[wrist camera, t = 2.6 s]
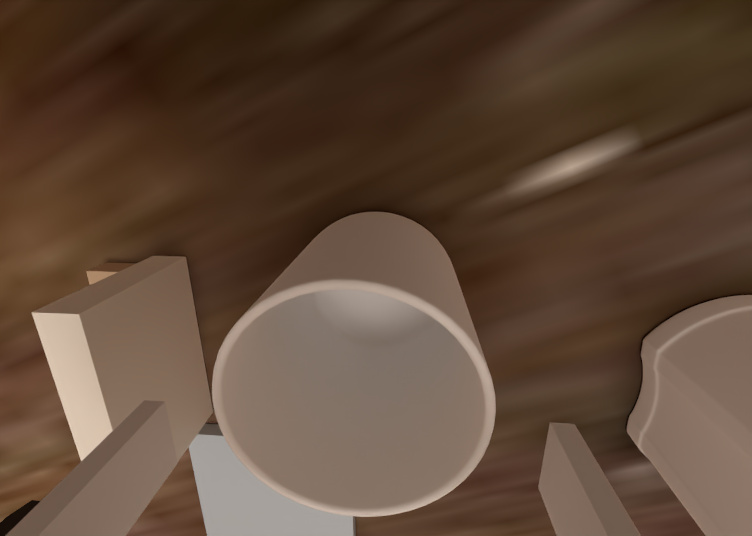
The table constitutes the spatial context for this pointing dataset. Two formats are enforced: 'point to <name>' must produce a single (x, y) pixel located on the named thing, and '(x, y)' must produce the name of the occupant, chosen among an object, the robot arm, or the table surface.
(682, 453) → the jar
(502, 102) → the table surface
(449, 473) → the mug
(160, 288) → the beige block
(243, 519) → the plate
